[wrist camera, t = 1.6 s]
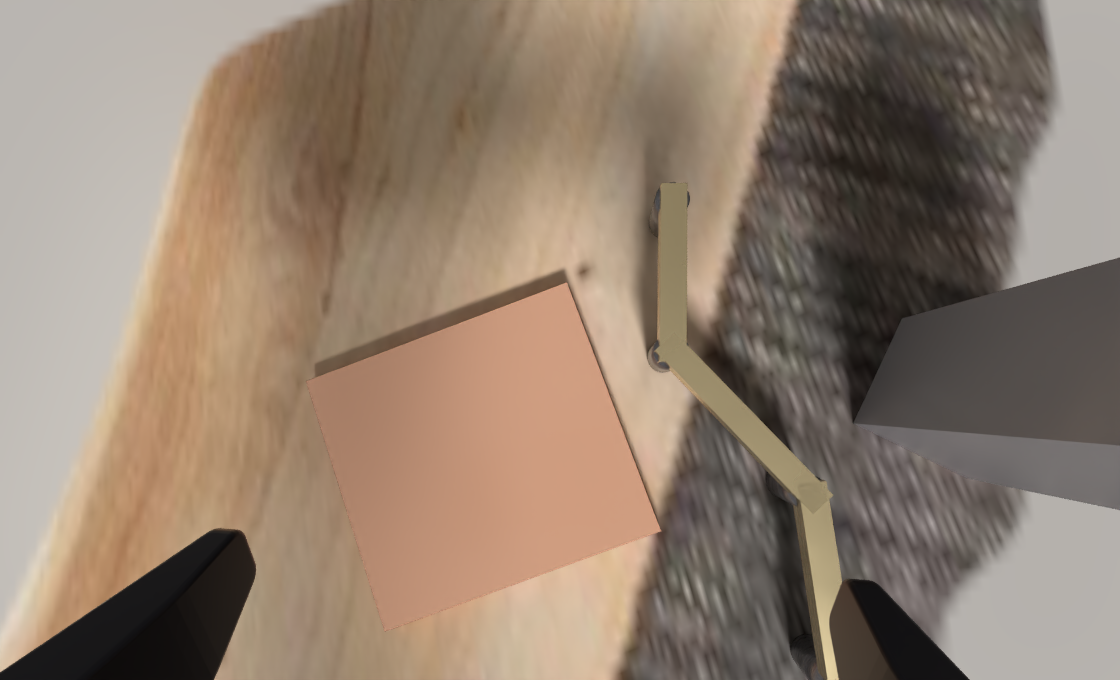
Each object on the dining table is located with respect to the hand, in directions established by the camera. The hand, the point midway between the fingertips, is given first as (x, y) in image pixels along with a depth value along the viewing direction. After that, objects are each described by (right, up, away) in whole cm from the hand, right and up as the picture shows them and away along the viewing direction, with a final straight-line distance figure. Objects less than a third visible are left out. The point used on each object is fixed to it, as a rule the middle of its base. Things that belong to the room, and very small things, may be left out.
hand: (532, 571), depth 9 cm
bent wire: (+7, 0, +14) cm, 16 cm away
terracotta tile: (-3, -1, +15) cm, 15 cm away
